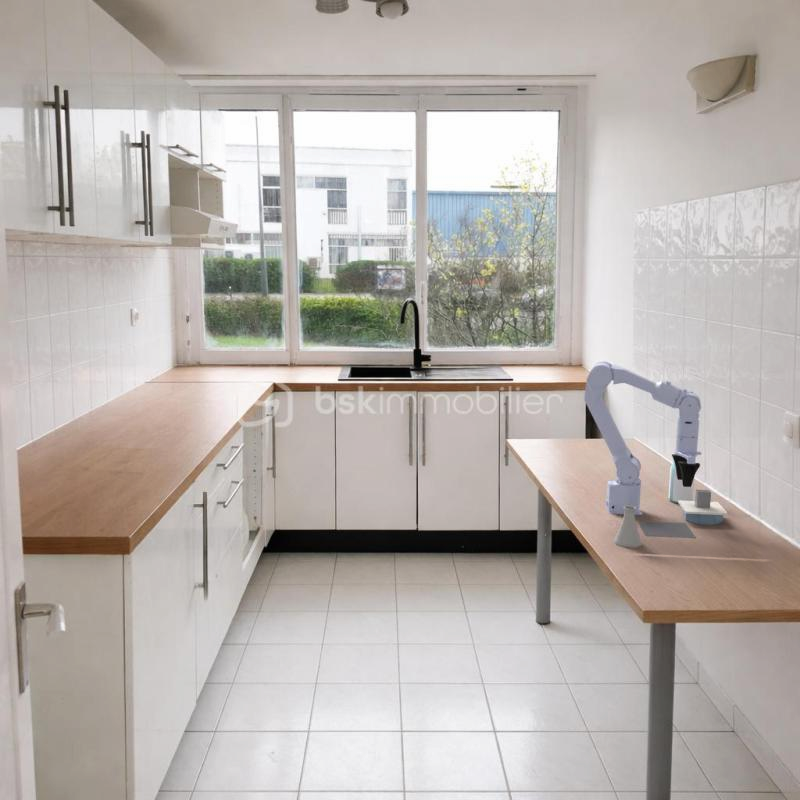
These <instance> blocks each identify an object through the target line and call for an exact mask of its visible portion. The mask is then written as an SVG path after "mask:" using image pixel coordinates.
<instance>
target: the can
mask: <svg viewBox="0 0 800 800" xmlns="http://www.w3.org/2000/svg"><path fill="white" fill-rule="evenodd" d="M694 489H695V478H694V479H693V483H692V486H691V487H683V484H682V480H678V479H677V474H676V467H675V462H674V460H673V461H672V464H671V466H670V467H669V483H668V499H669V500H670V501H671V502H672V503H677V504H679V503H678V500H681V501H694V491H695V490H694Z"/></svg>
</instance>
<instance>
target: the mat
mask: <svg viewBox="0 0 800 800" xmlns="http://www.w3.org/2000/svg"><path fill="white" fill-rule="evenodd" d="M637 522H638V526H639V527H640V529H641V530H642V532H643V534H644V536H645V537H660V538H661V537H662V538H682V539H683V538H685V539H696V538H697V537H696V535H695V534H694V533H693V531H692V530H691V528H690V527H689V526H688V524H687V523H686V522H669V521H668V522H667V521H644V520H643V521H642V520H638V521H637Z"/></svg>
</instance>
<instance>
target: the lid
mask: <svg viewBox="0 0 800 800" xmlns="http://www.w3.org/2000/svg"><path fill="white" fill-rule="evenodd" d="M694 499H695V500H693V501H681V500H678V503H677V504H678V505H679V506H680V507H681V508H682V511H683V510H684V511H685V513H686V514H708V515H723V516H728V515H729V514H728V513H729V512H727V510H726V509H725V508H724V507H723V506H722V505H721V504H720V503H719V501H711V500H712V492H711V491H710V490H709V489H695V496H694Z"/></svg>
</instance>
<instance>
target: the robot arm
mask: <svg viewBox="0 0 800 800" xmlns="http://www.w3.org/2000/svg"><path fill="white" fill-rule="evenodd" d="M612 381H613V383H612V384H613V385H619V384H620V385H621V384H627V385H629V386H631V387H634V388H636V389H639V390H642V391H644V392H647V393H649V394H650V395H651V397H652V399H653V400H654V401H656V402H658V403H661V404H663V405H666V406H668V407H670V408H672V409H678V410H679V412H678V413H679V414H678V419H677V425H676V426H677V429H676V437H675V438H676V443H675V450H674V453H672V454H671V457H672V459H673V461H674V462H675V467H676V474H677V479H678V480H682V484H683V487H691V486H692V483H693V479H694V480H695V475H696V474H697V472H698V469H700V467H701V463H700V462H696V457H697V456H701V455H702V452H701V451H700V450H698V443H699V441H698V440H699V432H700V431H699V430H700V429H699V427H700V420H699V418H700V411H701V409H702V405H701V400H700V397H699V396H698V395H697V394H696V393H695V392H693V391H689V390H688V389H686V388H683V389H682V388H680V387H677V386H675V385H674V384H672V382H671V381H669V380H666V381H664V380H660V381H658V382H654V381H652V380H650V379H648V378H646V377H644V376H642V375H640V374H637V373H636V372H633V371H631V370H629V369H627V368H625V367H623V366H620V365H617V364H611V363H609V362H608V361H599V362H596V363H595V364H594V366H593V367H592V368H591V370H590V372H589V373H588V375H587V378H586V381H585V382H586V384H585V392H584V397H583V398H584V402H585V403H586V406H587V408H588V410H589V412H590V414H591V416H592V418H593V420H594V422H595V424H596V426H597V428H598V430H599V431H600V433H601V435H602V438H603V440H604V441H605V444H606V446H607V447H608V450H609V451H610V454H611V456H612V460H613V462H614V465H615V467H616V477H615V479H614V480H608V481H607V482H606V495H605V497H606V498H605V507H606V509H607V512H608V514H615V515H616V514H617V515H624V508H623V507H624V506H634V507H636V510H635V515H636V516H637V515H640V516H641V515H643V512H642V510H641V508H640V505H641V491H642V490H641V487H642V480H641V479H640V478H639V477H640V471H641V469H642V466H641V465H642V464H641V461H640V460H639V459H638V458H637V457H636V456H634V454H633V453H632V451H631V450H630V448H629V447H628V446H627V444H626V442H625V440H624V438H623V436H622V434H621V432H620V430H619V428H618V426H617V424H616V421H615V420H614V418H613V416H612V414H611V412H610V410H609V408H608V406H607V404H606V402H605V400H604V398H603V397H604V394H605V391H606V389H607V388H608V386H610V384H611V382H612Z"/></svg>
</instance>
